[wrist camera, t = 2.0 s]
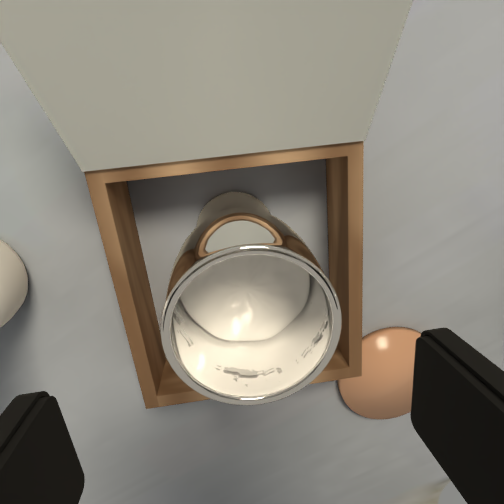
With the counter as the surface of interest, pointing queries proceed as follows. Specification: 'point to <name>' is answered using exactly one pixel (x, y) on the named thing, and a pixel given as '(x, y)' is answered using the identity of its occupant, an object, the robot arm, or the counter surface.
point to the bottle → (11, 283)
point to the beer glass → (247, 306)
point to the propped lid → (202, 73)
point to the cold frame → (137, 284)
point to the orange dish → (383, 375)
